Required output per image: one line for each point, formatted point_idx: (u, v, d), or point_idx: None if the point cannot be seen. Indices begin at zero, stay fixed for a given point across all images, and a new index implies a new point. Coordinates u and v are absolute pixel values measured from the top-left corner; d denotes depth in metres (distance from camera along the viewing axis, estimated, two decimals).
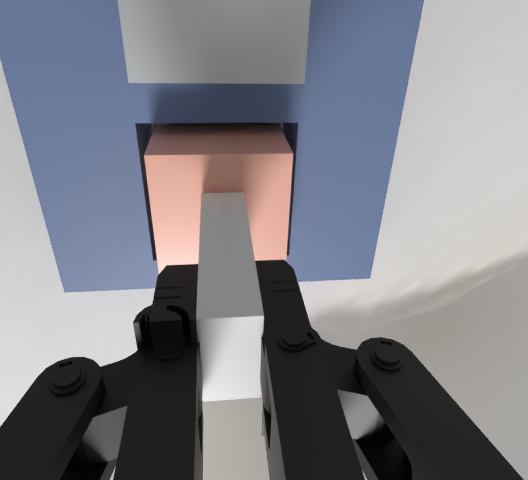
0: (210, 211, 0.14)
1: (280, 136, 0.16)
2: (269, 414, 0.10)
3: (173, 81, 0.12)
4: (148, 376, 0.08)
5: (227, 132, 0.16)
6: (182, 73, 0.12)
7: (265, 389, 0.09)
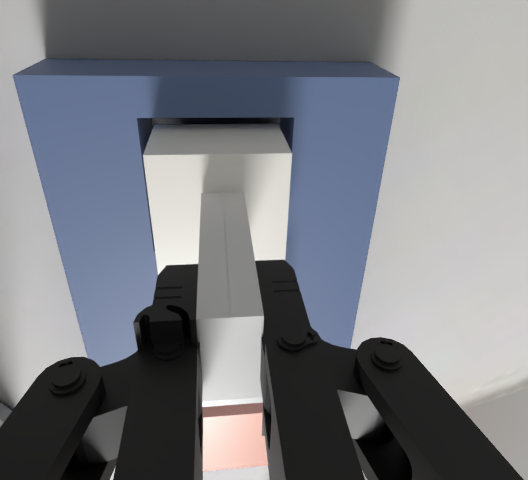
0: (210, 211, 0.14)
1: None
2: (269, 414, 0.10)
3: None
4: (148, 376, 0.08)
5: None
6: (205, 403, 0.20)
7: (265, 389, 0.09)
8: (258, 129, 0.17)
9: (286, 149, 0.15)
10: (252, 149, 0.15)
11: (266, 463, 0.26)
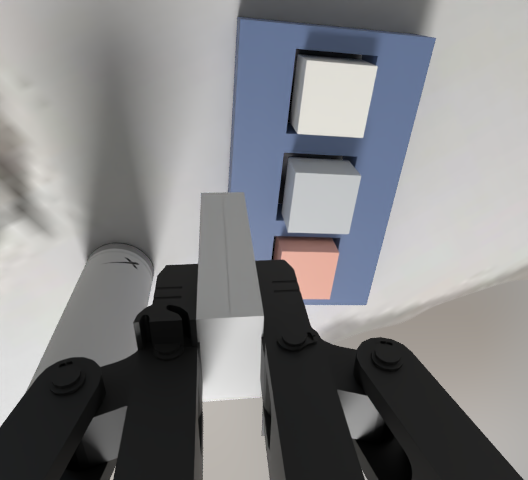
0: (210, 211, 0.14)
1: (332, 241, 0.38)
2: (269, 414, 0.10)
3: (303, 232, 0.34)
4: (148, 376, 0.08)
5: (309, 238, 0.38)
6: (306, 230, 0.34)
7: (265, 389, 0.09)
8: (354, 60, 0.32)
9: (374, 65, 0.30)
10: (357, 63, 0.30)
11: (328, 297, 0.39)
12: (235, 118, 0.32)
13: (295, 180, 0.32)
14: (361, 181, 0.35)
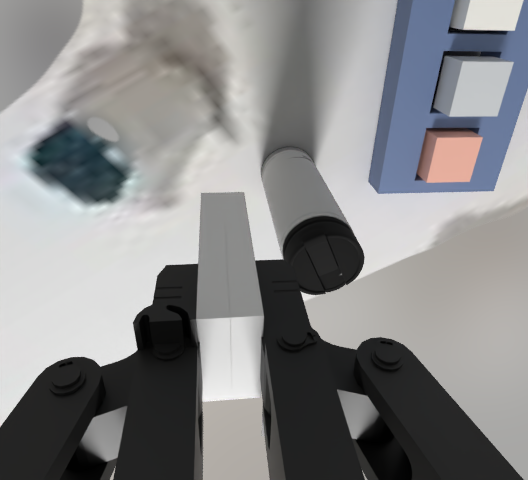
0: (210, 210, 0.14)
1: (472, 132, 0.46)
2: (269, 414, 0.10)
3: (461, 116, 0.42)
4: (148, 376, 0.08)
5: (452, 130, 0.46)
6: (464, 113, 0.42)
7: (265, 389, 0.09)
8: None
9: None
10: None
11: (468, 180, 0.47)
12: (409, 22, 0.40)
13: (461, 68, 0.39)
14: None
